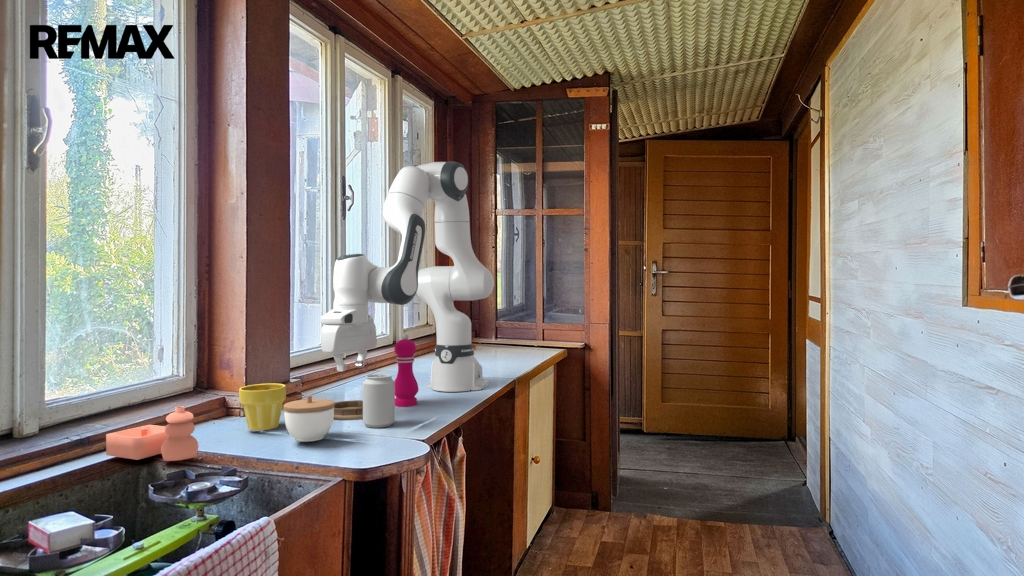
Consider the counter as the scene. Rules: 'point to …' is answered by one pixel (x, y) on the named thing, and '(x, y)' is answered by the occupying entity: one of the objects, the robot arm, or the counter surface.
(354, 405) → the stand
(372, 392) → the can
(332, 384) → the counter surface
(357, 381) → the counter surface
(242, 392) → the plant pot
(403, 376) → the pepper mill
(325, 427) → the lidded jar
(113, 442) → the pottery
